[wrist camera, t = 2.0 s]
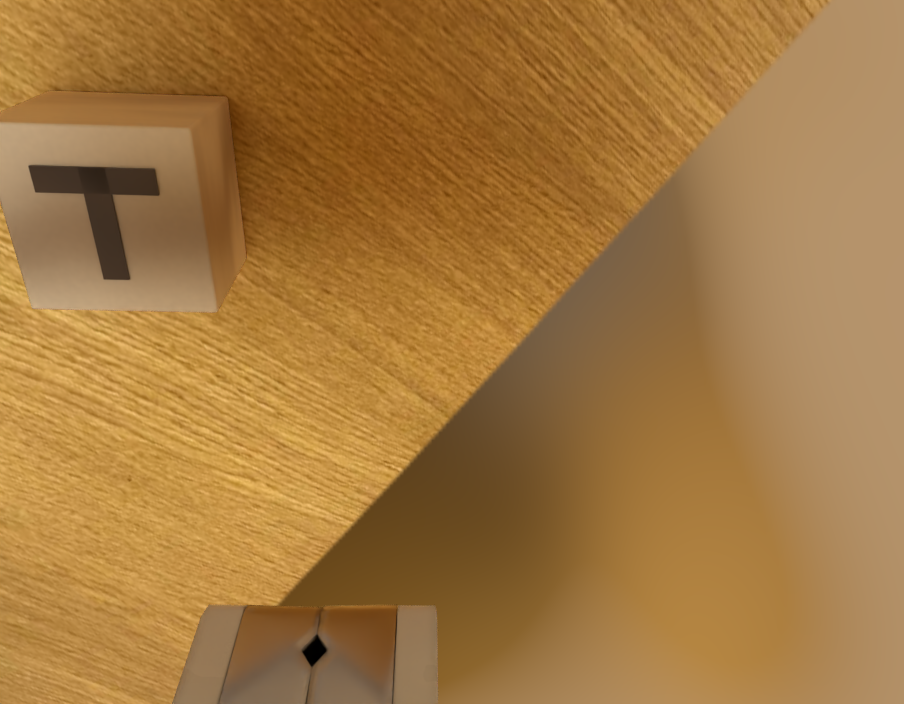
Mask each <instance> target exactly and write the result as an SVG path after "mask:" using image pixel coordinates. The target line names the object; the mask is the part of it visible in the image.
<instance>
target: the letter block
mask: <svg viewBox="0 0 904 704" xmlns="http://www.w3.org/2000/svg"><path fill="white" fill-rule="evenodd" d="M0 203H1V206H2V209H3V213H4V216H5V219H6V223H7V226H8V229H9V233H10V236H11V239H12V243H13V246H14V250H15V253H16V256H17V260H18V263H19V266H20V270H21V273H22V276H23V280H24V283H25V286H26V290H27V293H28V296H29V300H30V303H31V306H32V308H33V309H60V310H111V311H162V312H213V313H215V312H218V310H219V308H220V306H221V305H222V303H223V301H224V299H225V297H226V295H227V294H228V292H229V290H230V288H231V286H232V284H233V283H234V281H235V279H236V277H237V275H238V273H239V272H240V270H241V268H242V266H243V264H244V262H245V261H246V258H247V255H246V247H245V238H244V230H243V222H242V213H241V205H240V197H239V188H238V180H237V171H236V163H235V155H234V146H233V138H232V129H231V121H230V113H229V104H228V99H227V97H225V96H199V95H169V94H138V93H108V92H78V91H47V92H45V93H43V94H40V95H38V96H36V97H33V98H31V99H29V100H27V101H24V102H22V103H20V104H17V105H15V106H13V107H10V108H8V109H6V110H4V111H1V112H0Z"/></svg>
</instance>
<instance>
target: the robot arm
mask: <svg viewBox="0 0 904 704" xmlns="http://www.w3.org/2000/svg"><path fill="white" fill-rule="evenodd" d="M437 667H438V665H437V611H436V607H435V606H398V614H397V605H343V606H341V605H340V606H324V607H298V606H263V605H208V607H207V608H206V610H205V611H204V613H203V614H202V616H201V618H200V621H199V624H198V627H197V630H196V633H195V636H194V639H193V642H192V645H191V648H190V651H189V654H188V657H187V660H186V663H185V666H184V669H183V672H182V675H181V678H180V681H179V684H178V687H177V690H176V693H175V696H174V699H173V702H172V704H438V668H437Z"/></svg>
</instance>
